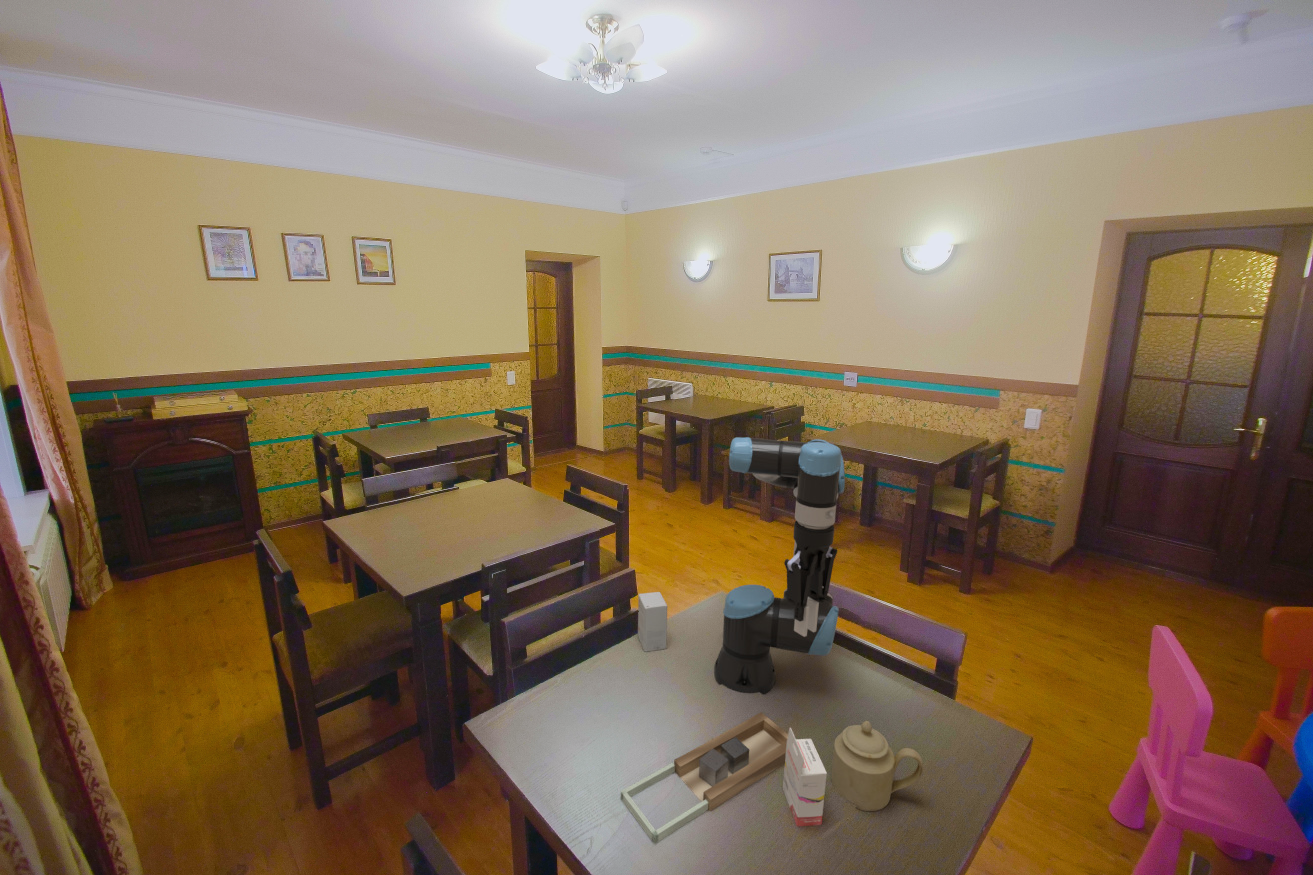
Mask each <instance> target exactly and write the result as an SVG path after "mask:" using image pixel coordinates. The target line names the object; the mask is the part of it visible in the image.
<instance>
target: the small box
mask: <svg viewBox="0 0 1313 875" xmlns="http://www.w3.org/2000/svg"><path fill="white" fill-rule="evenodd" d="M637 605H638V611H639V612H637V613H638V614H637V616H638V617H637V620H638V621H637V636H638V637H637V638H638V639H639V641H640V644H641V647H642V649H643V652H652V651H660V650H666V649H667V643H668V642H667V641H668V639H667V638H668V634H667V633H668V632H667V631H668V605H667V602H666V601H665V599H664V597H663V595H662V593H661V591H657V592H655V591H654V592H646V593H645V592H644V593H638V604H637Z"/></svg>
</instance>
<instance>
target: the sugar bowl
mask: <svg viewBox="0 0 1313 875" xmlns="http://www.w3.org/2000/svg"><path fill="white" fill-rule="evenodd" d="M905 758H912V759H914V760H915V761H916V762H917V768H916V769H915V771H913V773H912V774H910V775H908V776H906V777H904V778H901V779H896V780H894V776H895V775H894V774H895V773H896V770H897V769H898V767H899V765H900V762H901V761H902V760H903V759H905ZM924 768H925V766H924V762H923V758H922V756H921V755H920V754H919V752H917V751H916V750H915V749H913V748H910V747H904V748H901V749H900V750H898V751H897V753H896V754H894V752H893V750H892V748H891V747H890V746H889V743H888V741H887V738H886V737H885V736H884V735H883V734H881V732H880V731H878V730H876V729H874V728H873V726H872V723H870V721H869V720H865V721H863V722H862V723H861V724H853V725H848V726H847V727H845V728H844V729H843V730H842V732H841V733H839V734H838V735H837V736H836V737H835V740H834V744H833V751H832V761H831V774H830V775H831V776H830V777H831V778H830V779H831V783H832V784H833V787H834V788H835V790H836V792H838V794H840V796H842V797H843V798H844V799H845V800H847V801H848V802H850V803H852V804H854V805H857V806H856V807H855V809H856V810H861V811H866V812H876V811H880V810H882V809H884V808H885V807H887V805H888V804H889V802H890V799H891V794H892V793H895V792H896V791H898V790H903V789H905V788H908V787H911V786H913V785H914V784H916V783H917V782H918V781H919V780H920V779H921V777H922V775H923V772H924Z"/></svg>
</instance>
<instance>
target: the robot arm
mask: <svg viewBox="0 0 1313 875" xmlns="http://www.w3.org/2000/svg"><path fill="white" fill-rule="evenodd" d="M729 447H730V448H729V456H728V464H729V465H728V466H729V469H730V470H731V471H732V472H736V473H742V474H752V476H753V477H755V478H756V479H757V480H759V481H761V482H764V483H767V484H770V485H772V486H778V487H781V488H787V489H793V492H792V493H793V496H794V497H795V498H796V499H795V510H794V512H795V513H794V519H795V521H794V522H793V523H794V524H793V540H794V544H793V545H794V547H793V557H792V558H791V559H788V558H785V560H784V562H783V563H784V566H785V569H786V589H785V590H784V591H783V598H782V597H777V596H776V597H775V595H774V592H773V591H772V590H771V589H770V588H768V587H766V586H764V585H760V584H744V585H740V586H738V587H735V588H733V589H731V590H730V591H728V593H727V594H726V597H725V602H724V608H723V611H722V612H723V632H722V646H721V648H720V650H719V653H718V655H717V657H716V661H715V663H714V670H713V672H714V673H713V675H714V679H715V681H716V682H717V683H718V685H719V686H720V685H723V687H725V688H727V689H729V690H731V691H734V692H737V693H742V694H759V693H760V694H761V695H764V694H766V693H768V692H769V691H771V689H773V687H774V686H775V681H776V669H775V666H774V663H773V658H772V655H771V652H770V651H771V648H774V649H779V650H783V651H785V650H786V651H791V652H796V653H802V654H807V655H809V656H810V655H815V656H823V657H824V656H828V655H829V654H830V652H831V651H832V647H833V643H834V638H835V635H836V629H837V623H838V617H839V612H840V609H839V607H838V606H836V605H833V602H834V601H833V599H834V598H833V596H832V595H831V594H830V593H829V591H830V590H829V589H830V584H831V579H832V573H833V568H834V561H835V559H836V556H837V554H838V549H836V548H834V547H833V546H832V544H833V542H834V536H835V526H834V524H835V522H836V510H837V503H838V502H837V501H838V498H839V495H840V494H842V493H844V491H845V485H846V484H845V483H846V482H845V481H846V480H845V462H844V458H843V455H842V451H841V448H840V447H838V446H837V445H835V444H833V443H830V442H828V441H827V440H824V439H818V438H817V439H816V438H815V439H813V440H810V441H808V442H806V441H805V442H804V441H793V440H778V439H777V440H776V439H766V438H753V437H749V436H747V437H737V436H736V437H734V438H732V440H731V443H730V446H729Z"/></svg>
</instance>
